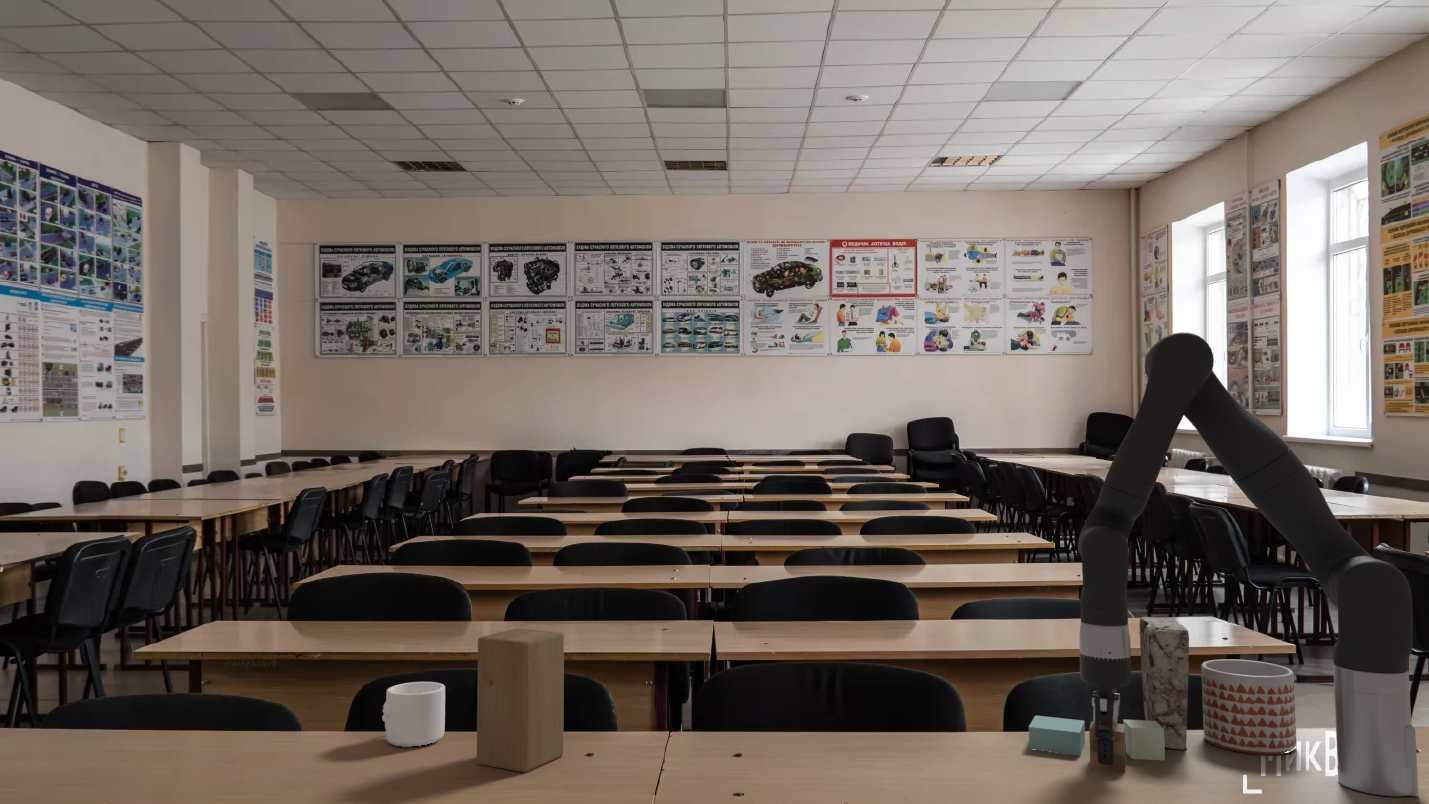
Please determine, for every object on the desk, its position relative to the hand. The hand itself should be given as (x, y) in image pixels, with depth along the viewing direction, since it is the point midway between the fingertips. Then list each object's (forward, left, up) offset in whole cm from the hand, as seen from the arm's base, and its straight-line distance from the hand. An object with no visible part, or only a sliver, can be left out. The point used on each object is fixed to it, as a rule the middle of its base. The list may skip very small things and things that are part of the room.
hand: (1107, 756), depth 152 cm
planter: (-21, -22, -2) cm, 31 cm away
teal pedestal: (+8, -7, -2) cm, 11 cm away
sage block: (-5, -8, -1) cm, 10 cm away
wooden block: (+86, +36, -2) cm, 93 cm away
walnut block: (0, 0, -1) cm, 1 cm away
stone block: (-8, -19, -2) cm, 21 cm away
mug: (+110, +34, -2) cm, 115 cm away
